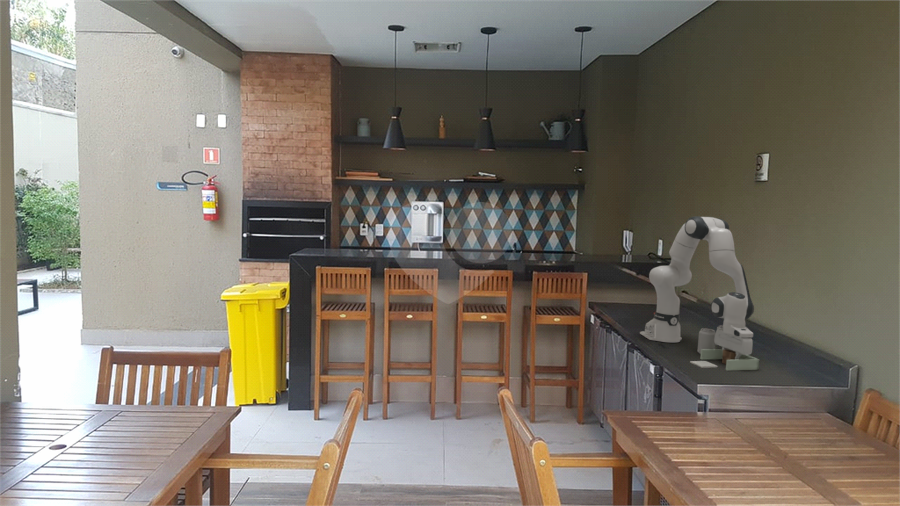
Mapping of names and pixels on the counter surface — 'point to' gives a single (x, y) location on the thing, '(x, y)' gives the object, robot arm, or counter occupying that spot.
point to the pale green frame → (739, 364)
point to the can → (706, 339)
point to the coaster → (703, 364)
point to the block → (728, 355)
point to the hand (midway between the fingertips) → (731, 359)
